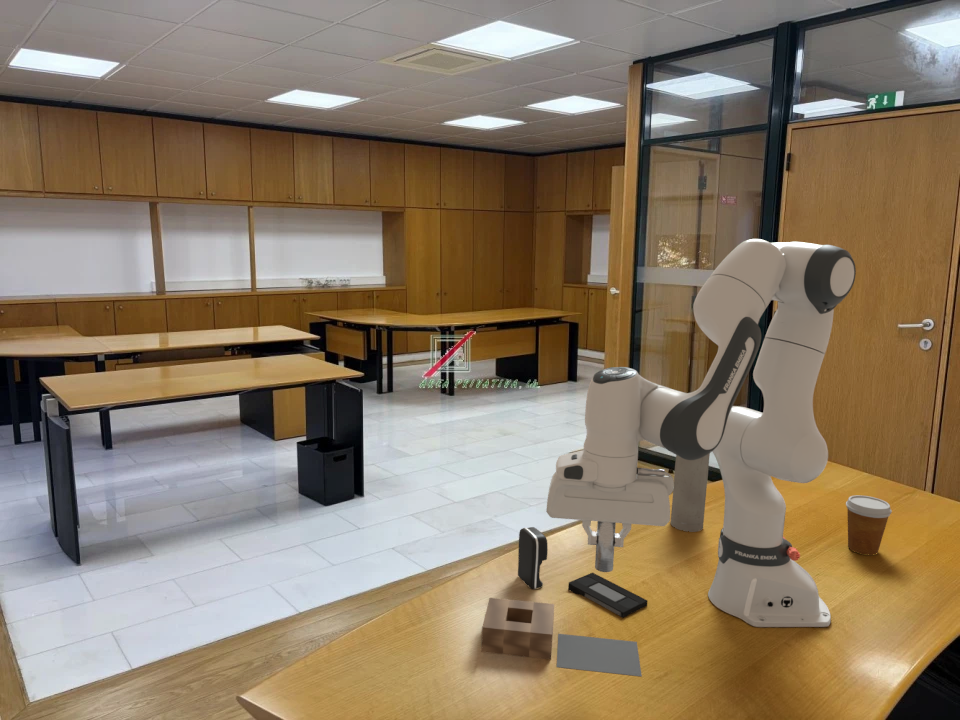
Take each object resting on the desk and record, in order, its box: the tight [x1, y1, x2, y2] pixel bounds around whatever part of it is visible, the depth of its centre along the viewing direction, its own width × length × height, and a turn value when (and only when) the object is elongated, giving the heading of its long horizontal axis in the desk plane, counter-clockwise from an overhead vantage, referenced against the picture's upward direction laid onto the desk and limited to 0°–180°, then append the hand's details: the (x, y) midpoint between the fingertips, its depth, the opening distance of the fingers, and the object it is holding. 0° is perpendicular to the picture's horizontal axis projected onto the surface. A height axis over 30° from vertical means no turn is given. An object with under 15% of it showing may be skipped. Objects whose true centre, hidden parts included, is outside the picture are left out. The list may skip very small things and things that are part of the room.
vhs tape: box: [567, 572, 648, 619], centre depth 139 cm, size 8×14×2 cm, turn 39°
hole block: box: [481, 597, 555, 660], centre depth 123 cm, size 12×10×5 cm
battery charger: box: [517, 526, 549, 590], centre depth 144 cm, size 7×4×11 cm, turn 23°
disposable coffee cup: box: [845, 494, 892, 556], centre depth 164 cm, size 10×10×12 cm
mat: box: [556, 633, 643, 677], centre depth 120 cm, size 14×10×1 cm
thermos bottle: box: [670, 453, 711, 533], centre depth 173 cm, size 8×8×28 cm
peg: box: [594, 521, 617, 573], centre depth 116 cm, size 3×3×10 cm
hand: (605, 544), depth 116 cm, fingers closed on peg, 3 cm apart
